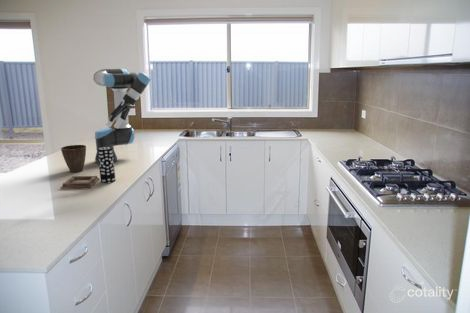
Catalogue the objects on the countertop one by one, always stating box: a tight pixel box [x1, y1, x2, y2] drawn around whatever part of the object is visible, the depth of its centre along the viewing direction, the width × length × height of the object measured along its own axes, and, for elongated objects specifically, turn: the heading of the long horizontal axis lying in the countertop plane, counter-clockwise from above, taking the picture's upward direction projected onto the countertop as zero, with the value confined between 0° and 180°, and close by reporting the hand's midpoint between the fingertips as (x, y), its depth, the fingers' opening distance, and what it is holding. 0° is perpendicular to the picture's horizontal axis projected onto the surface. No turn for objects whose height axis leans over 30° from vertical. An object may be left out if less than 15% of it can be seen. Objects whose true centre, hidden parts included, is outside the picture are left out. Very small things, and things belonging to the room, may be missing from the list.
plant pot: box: [60, 144, 87, 173], centre depth 231 cm, size 15×15×16 cm
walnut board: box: [60, 175, 101, 190], centre depth 205 cm, size 16×16×3 cm
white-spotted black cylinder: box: [96, 147, 116, 184], centre depth 208 cm, size 8×8×20 cm
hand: (111, 126), depth 209 cm, fingers open, 13 cm apart
